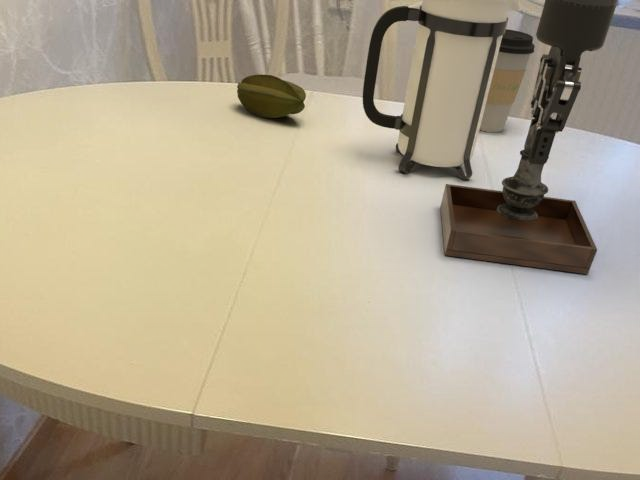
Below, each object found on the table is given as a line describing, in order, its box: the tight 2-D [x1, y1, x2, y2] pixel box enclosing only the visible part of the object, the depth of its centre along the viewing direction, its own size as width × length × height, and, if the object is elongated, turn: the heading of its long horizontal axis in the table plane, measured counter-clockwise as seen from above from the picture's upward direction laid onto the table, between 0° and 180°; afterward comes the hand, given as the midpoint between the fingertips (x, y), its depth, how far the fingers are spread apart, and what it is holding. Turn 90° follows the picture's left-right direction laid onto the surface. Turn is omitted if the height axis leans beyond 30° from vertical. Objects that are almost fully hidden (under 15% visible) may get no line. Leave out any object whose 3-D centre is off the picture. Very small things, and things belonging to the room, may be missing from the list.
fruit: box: [236, 73, 307, 119], centre depth 130 cm, size 11×12×7 cm
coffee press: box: [362, 0, 522, 181], centre depth 110 cm, size 17×16×30 cm
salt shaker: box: [497, 123, 550, 221], centre depth 95 cm, size 6×6×12 cm
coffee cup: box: [479, 28, 536, 133], centre depth 133 cm, size 9×9×15 cm
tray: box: [440, 183, 598, 275], centre depth 100 cm, size 18×16×3 cm
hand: (534, 156), depth 94 cm, fingers closed on salt shaker, 3 cm apart
